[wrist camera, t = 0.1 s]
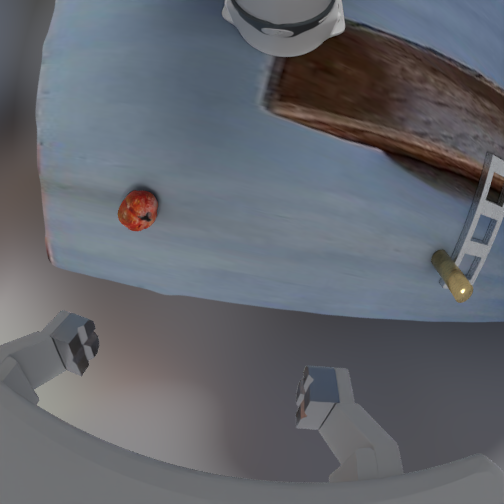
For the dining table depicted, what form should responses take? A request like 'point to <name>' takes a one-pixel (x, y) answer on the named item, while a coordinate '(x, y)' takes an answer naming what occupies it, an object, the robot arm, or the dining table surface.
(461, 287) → the tall brass rod
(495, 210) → the rack rail
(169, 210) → the dining table surface
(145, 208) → the pomegranate
